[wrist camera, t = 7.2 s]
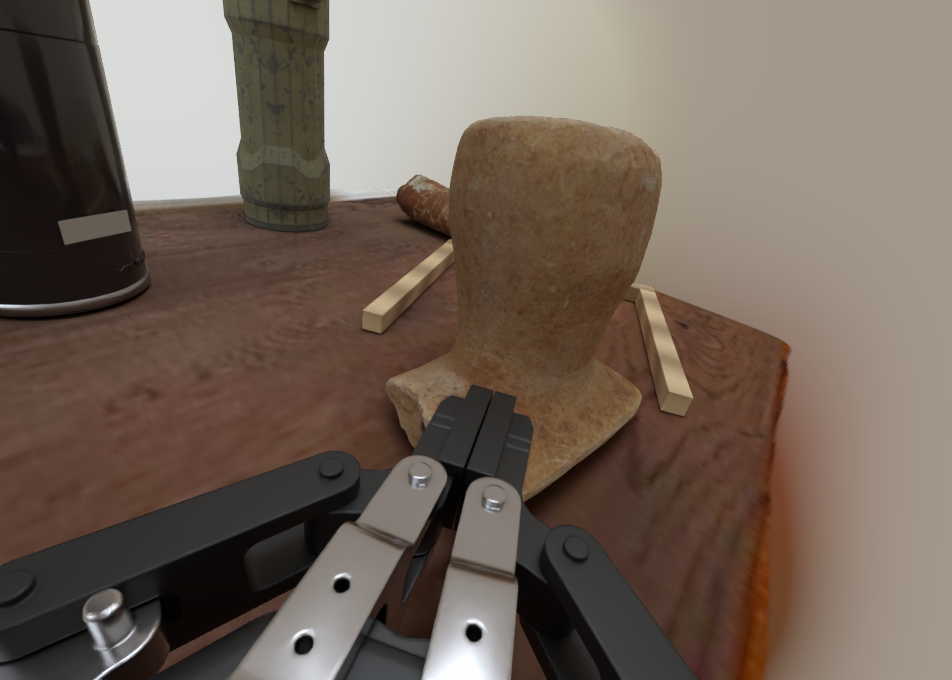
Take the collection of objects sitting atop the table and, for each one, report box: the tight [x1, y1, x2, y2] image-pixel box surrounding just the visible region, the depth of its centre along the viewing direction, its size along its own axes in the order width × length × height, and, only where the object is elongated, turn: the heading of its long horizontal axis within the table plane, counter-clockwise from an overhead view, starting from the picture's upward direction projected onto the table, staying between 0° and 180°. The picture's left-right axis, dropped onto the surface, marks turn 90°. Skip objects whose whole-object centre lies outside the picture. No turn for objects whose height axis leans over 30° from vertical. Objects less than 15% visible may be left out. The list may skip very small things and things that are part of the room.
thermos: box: [223, 0, 330, 232], centre depth 40 cm, size 9×12×35 cm
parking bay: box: [362, 240, 693, 416], centre depth 37 cm, size 20×22×2 cm
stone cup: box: [386, 116, 662, 502], centre depth 21 cm, size 15×12×15 cm
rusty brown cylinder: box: [397, 175, 451, 236], centre depth 52 cm, size 6×19×6 cm, turn 45°
